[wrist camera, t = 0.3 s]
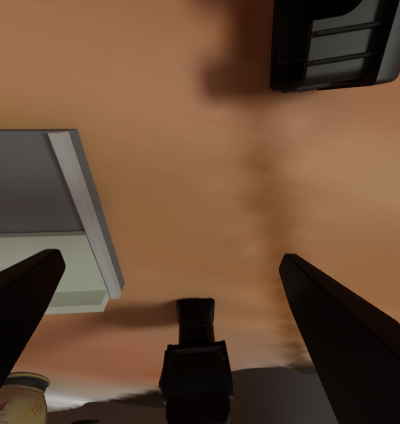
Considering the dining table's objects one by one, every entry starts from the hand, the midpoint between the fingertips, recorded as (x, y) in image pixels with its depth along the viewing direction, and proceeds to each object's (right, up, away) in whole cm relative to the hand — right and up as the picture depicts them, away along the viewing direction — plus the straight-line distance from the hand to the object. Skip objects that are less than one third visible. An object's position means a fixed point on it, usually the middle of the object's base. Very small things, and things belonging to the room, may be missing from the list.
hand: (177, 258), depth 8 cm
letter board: (-18, 0, +15) cm, 24 cm away
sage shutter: (-18, -5, +17) cm, 25 cm away
